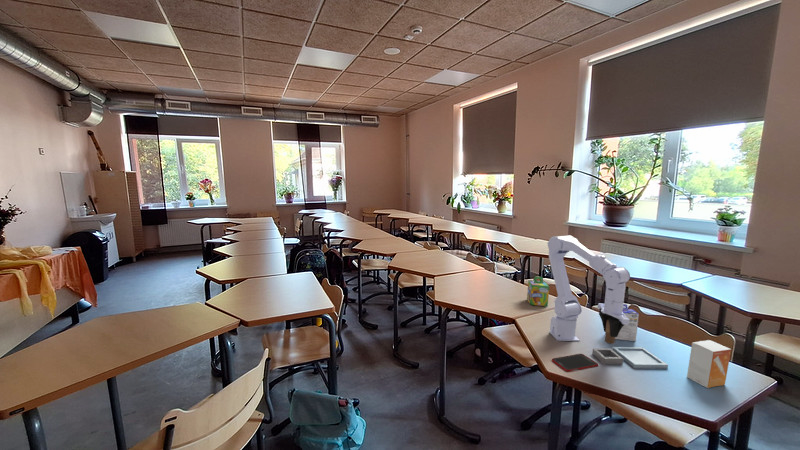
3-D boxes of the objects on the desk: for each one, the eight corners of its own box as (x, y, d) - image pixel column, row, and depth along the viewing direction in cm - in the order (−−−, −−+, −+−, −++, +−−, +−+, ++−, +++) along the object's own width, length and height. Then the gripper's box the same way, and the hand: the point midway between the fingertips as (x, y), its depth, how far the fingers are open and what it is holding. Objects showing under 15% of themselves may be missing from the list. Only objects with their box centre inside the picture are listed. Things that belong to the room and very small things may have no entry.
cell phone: (599, 366, 115) (599, 364, 114) (566, 373, 111) (566, 370, 110) (581, 355, 122) (581, 353, 122) (550, 361, 118) (550, 358, 118)
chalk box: (530, 305, 170) (532, 279, 168) (526, 299, 179) (528, 274, 177) (548, 306, 168) (550, 280, 166) (543, 300, 177) (545, 275, 175)
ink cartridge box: (630, 335, 138) (633, 304, 136) (636, 341, 132) (640, 309, 130) (605, 333, 140) (608, 302, 138) (610, 339, 134) (614, 307, 132)
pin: (608, 343, 117) (610, 323, 115) (602, 339, 120) (604, 319, 119) (616, 343, 117) (618, 323, 115) (611, 339, 120) (613, 319, 119)
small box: (707, 388, 102) (713, 351, 100) (686, 377, 108) (691, 341, 107) (725, 385, 104) (732, 348, 102) (703, 374, 110) (709, 339, 108)
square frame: (603, 363, 116) (604, 358, 115) (592, 353, 123) (592, 348, 122) (622, 364, 116) (623, 358, 115) (610, 353, 123) (610, 348, 122)
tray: (634, 368, 113) (634, 364, 113) (612, 350, 125) (612, 346, 125) (667, 368, 113) (668, 364, 113) (642, 350, 125) (642, 347, 125)
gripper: (591, 292, 123) (588, 325, 125) (616, 307, 109) (612, 343, 111) (609, 292, 123) (606, 325, 125) (637, 307, 109) (632, 344, 111)
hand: (610, 334), depth 118 cm, fingers closed on pin, 3 cm apart
